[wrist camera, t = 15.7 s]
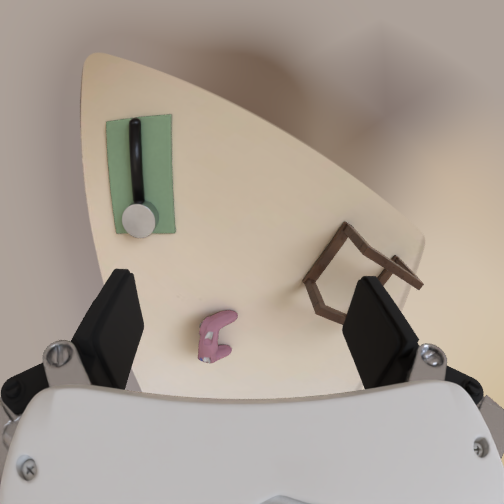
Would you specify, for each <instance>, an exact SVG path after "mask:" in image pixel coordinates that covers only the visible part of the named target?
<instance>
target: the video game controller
mask: <svg viewBox="0 0 504 504" xmlns="http://www.w3.org/2000/svg"><path fill="white" fill-rule="evenodd" d="M237 317H238V315H237V313H236V312H235V311H231V310H226V311H221V312H218V313H216V314H214V315H212V316H210V317H209V316H208V317H206V318H205V319H204V321H202V322H201V323H200V326H199V327H200V331H199V334H200V341H199V348H198V353H199V354H198V359H199V360H201V361H203V362H206V363H209V364H210V363H214V362H215V361H217V360H219V359H221V358H224V357H226V356H228V355H229V354H230V353H231V351H232V348H231V347H230V346H228V345H218V341H217V340H218V334H219V330H220V329H221V328H222V327H224V326H226V325H228V324H230V323H232V322H234V321H235V320H236V319H237Z"/></svg>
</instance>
